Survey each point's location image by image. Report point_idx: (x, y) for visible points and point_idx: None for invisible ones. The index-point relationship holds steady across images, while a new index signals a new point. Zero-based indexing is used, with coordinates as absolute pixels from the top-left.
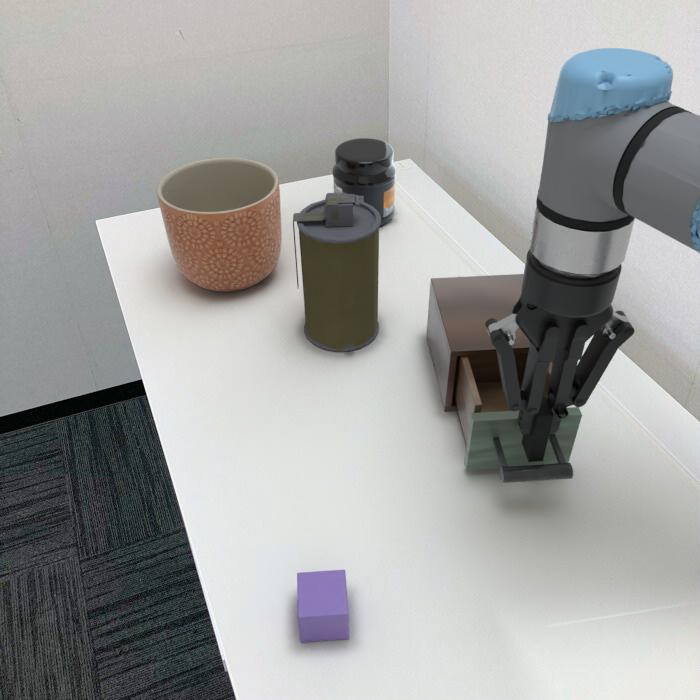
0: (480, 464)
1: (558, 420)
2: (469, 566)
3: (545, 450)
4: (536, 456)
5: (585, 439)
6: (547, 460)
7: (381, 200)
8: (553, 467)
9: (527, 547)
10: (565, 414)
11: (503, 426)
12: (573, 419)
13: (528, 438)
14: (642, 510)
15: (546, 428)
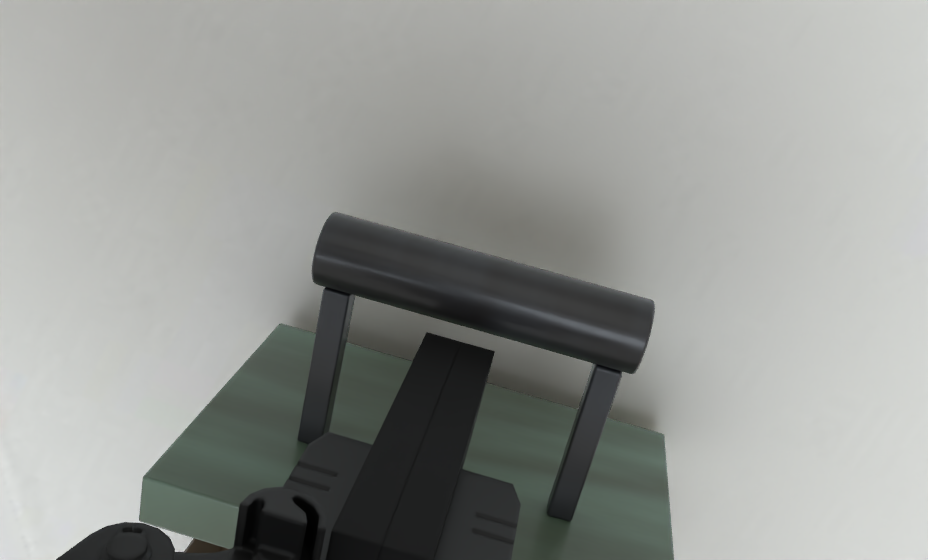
0: (612, 435)
1: (298, 488)
2: (884, 44)
3: (352, 394)
4: (455, 359)
5: (167, 396)
6: (352, 359)
7: None
8: (401, 280)
9: (607, 50)
10: (263, 508)
11: (527, 558)
12: (192, 471)
13: (464, 456)
14: (107, 57)
15: (389, 467)
